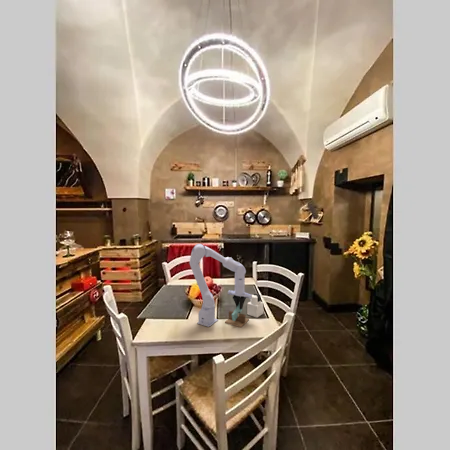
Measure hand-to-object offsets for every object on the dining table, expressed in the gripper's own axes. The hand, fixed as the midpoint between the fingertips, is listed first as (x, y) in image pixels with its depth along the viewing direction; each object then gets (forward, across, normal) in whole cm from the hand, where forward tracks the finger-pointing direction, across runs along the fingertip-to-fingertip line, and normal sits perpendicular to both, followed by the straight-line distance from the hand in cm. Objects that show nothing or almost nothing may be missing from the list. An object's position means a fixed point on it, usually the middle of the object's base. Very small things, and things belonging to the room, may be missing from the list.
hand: (239, 308), depth 146 cm
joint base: (+6, 0, +3) cm, 7 cm away
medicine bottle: (+7, -5, -11) cm, 14 cm away
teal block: (+3, 0, +2) cm, 4 cm away
